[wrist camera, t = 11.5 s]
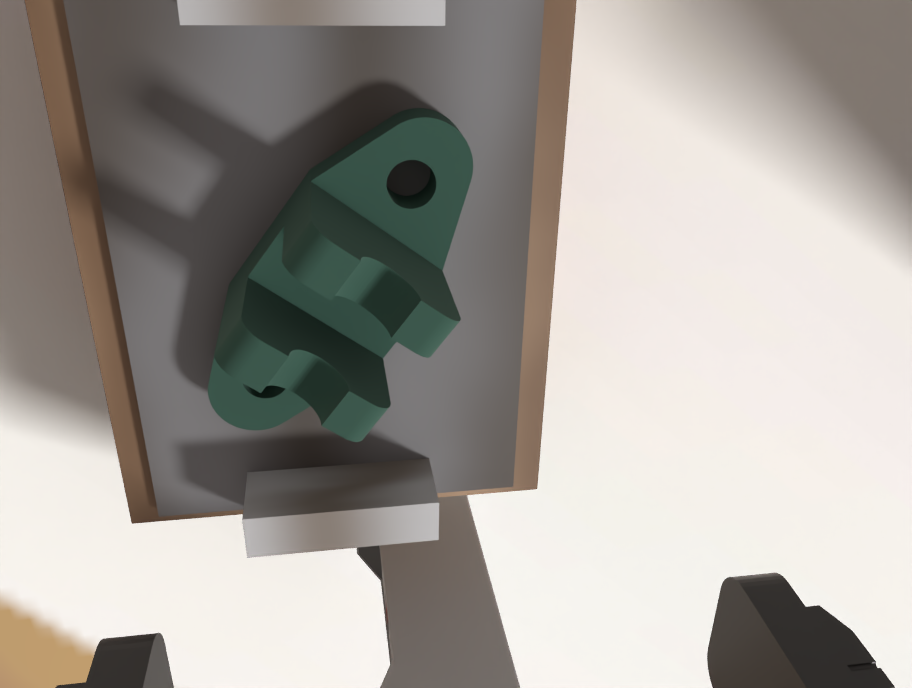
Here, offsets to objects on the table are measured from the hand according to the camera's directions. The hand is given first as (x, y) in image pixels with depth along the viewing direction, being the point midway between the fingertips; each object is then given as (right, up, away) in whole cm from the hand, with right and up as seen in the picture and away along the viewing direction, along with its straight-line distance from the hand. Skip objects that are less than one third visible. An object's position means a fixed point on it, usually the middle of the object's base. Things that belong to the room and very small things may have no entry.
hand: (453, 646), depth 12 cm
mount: (-4, +7, +13) cm, 15 cm away
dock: (-5, +10, +19) cm, 22 cm away
